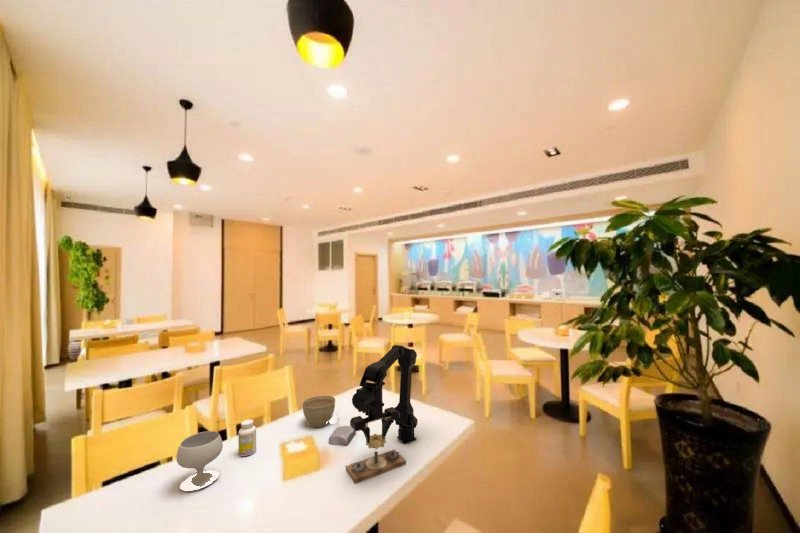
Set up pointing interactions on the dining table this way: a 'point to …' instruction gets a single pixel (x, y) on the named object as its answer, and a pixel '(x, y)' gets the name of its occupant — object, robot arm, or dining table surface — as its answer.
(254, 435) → the supplement bottle
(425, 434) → the dining table surface
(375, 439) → the wooden gear
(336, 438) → the stone block
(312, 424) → the planter bowl
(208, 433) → the chalice
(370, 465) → the gear board
